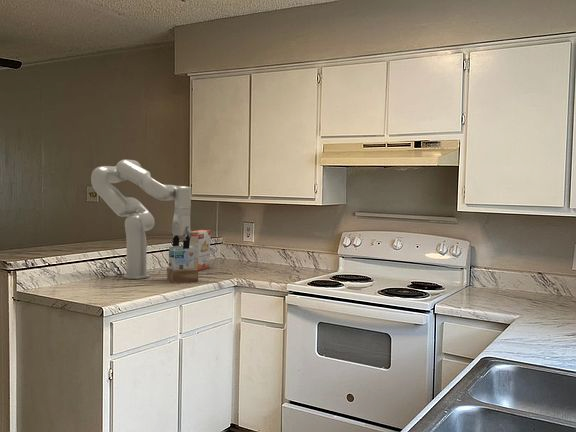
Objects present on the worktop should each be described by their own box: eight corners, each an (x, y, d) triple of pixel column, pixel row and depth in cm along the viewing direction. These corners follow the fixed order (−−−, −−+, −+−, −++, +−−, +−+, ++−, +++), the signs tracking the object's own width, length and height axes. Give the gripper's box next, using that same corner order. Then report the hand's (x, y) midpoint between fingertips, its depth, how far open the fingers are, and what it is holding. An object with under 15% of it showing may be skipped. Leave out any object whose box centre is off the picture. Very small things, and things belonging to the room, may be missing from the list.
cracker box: (198, 271, 317) (199, 232, 316) (188, 270, 319) (188, 231, 318) (210, 267, 331) (210, 230, 329) (200, 267, 333) (201, 229, 331)
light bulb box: (174, 270, 282) (174, 247, 282) (168, 268, 288) (168, 246, 287) (194, 268, 289) (194, 246, 288) (188, 267, 294) (188, 245, 294)
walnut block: (167, 279, 291) (167, 267, 291) (191, 278, 296) (191, 266, 296) (173, 284, 280) (173, 271, 280) (198, 282, 286) (198, 270, 285)
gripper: (166, 210, 291) (165, 245, 292) (184, 213, 277) (183, 250, 279) (180, 210, 295) (178, 244, 297) (198, 213, 282) (197, 249, 284)
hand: (180, 247), depth 288 cm, fingers open, 9 cm apart
